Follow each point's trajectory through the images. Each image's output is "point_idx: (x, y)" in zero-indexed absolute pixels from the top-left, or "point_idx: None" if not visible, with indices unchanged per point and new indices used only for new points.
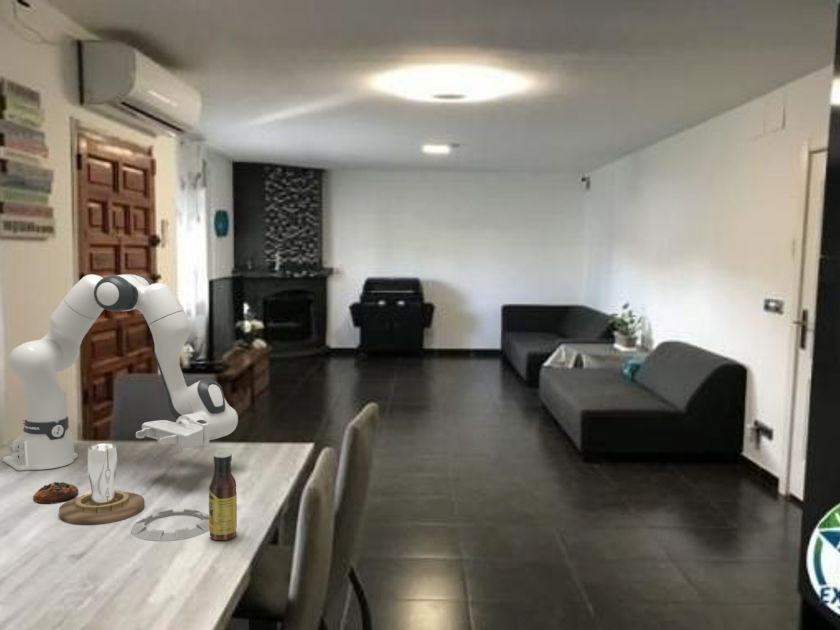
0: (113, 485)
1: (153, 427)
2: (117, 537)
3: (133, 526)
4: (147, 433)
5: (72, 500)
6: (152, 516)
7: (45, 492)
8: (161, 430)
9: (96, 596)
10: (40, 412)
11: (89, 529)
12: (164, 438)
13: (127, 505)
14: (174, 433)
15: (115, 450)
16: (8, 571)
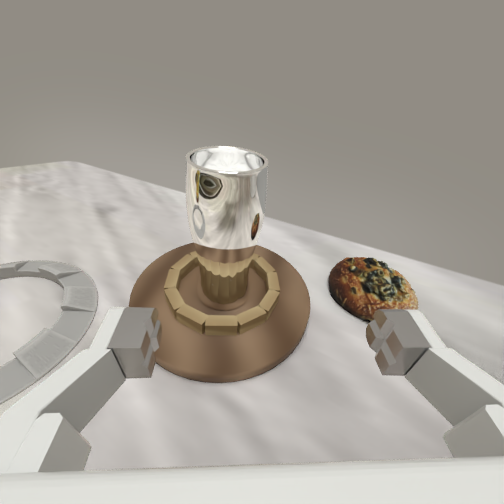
0: (200, 264)
1: (490, 458)
2: (89, 250)
3: (88, 279)
4: (458, 426)
5: (294, 274)
6: (62, 309)
7: (354, 259)
8: (318, 465)
9: (11, 183)
10: None
11: (162, 248)
12: (97, 334)
13: (166, 310)
14: (26, 473)
15: (191, 176)
16: (150, 183)
